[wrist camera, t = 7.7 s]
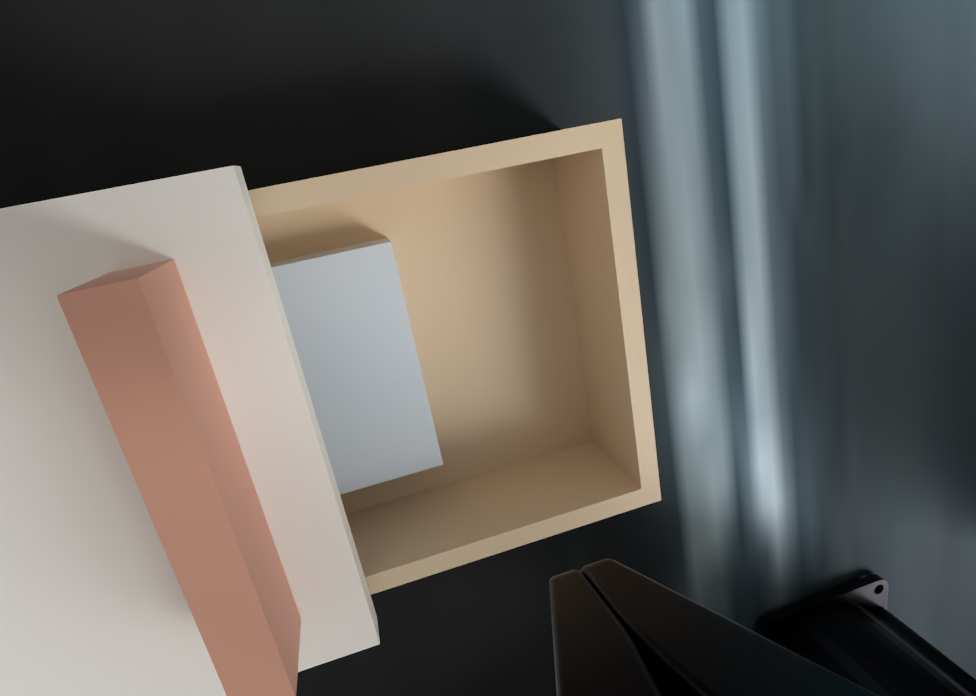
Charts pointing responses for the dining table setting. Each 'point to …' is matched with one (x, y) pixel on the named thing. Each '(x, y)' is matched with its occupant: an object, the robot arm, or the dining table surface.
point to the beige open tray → (470, 344)
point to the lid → (161, 456)
